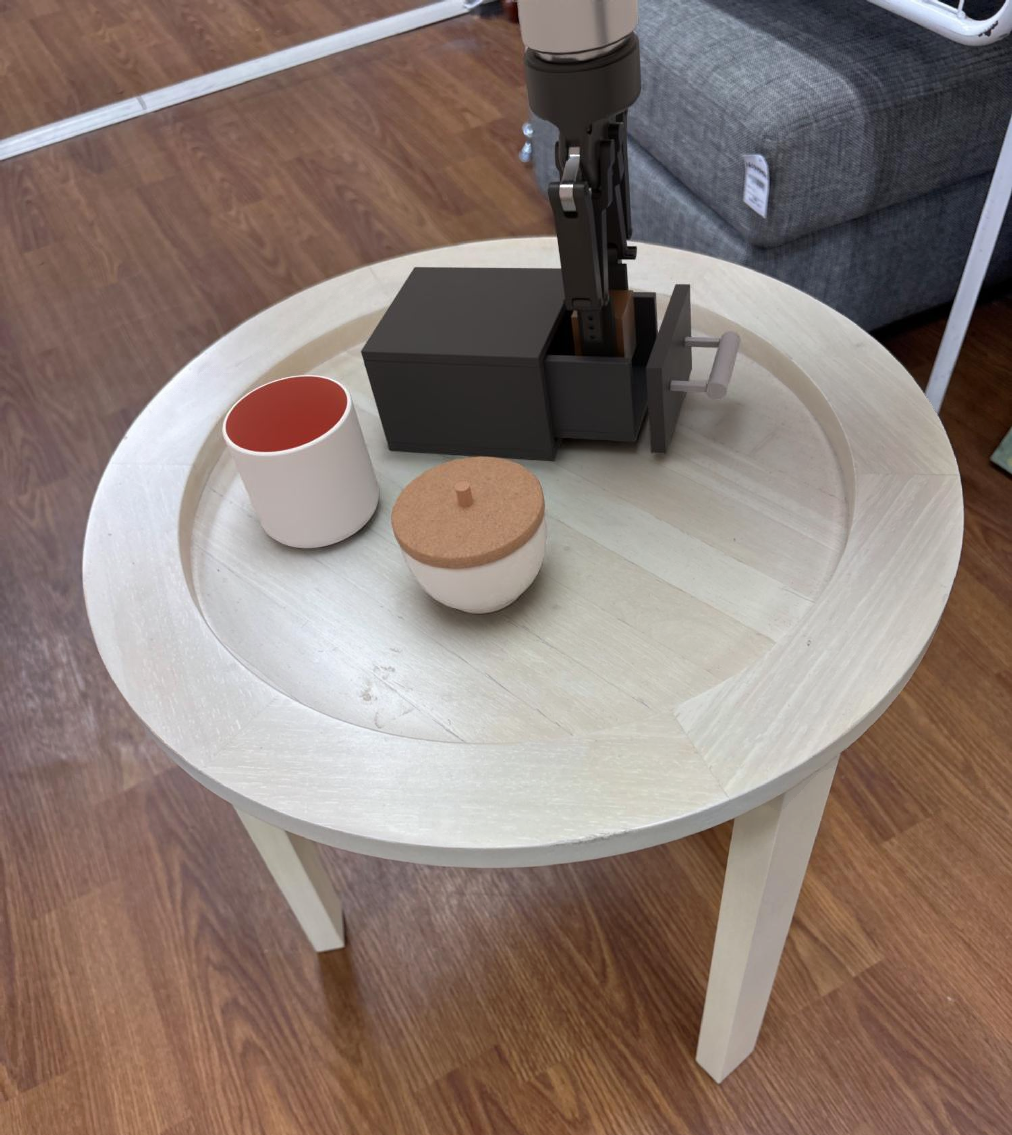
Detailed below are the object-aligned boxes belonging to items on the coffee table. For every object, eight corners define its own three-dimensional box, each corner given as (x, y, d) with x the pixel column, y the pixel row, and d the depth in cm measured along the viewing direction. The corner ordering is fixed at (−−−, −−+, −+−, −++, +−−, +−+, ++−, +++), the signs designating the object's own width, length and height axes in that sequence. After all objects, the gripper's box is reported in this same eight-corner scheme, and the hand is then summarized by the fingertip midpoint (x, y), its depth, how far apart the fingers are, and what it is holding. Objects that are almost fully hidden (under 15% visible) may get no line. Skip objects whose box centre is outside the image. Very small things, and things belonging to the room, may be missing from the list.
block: (636, 345, 87) (633, 289, 83) (625, 374, 84) (622, 318, 81) (589, 344, 88) (583, 288, 84) (577, 372, 86) (570, 316, 82)
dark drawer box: (590, 370, 95) (579, 267, 88) (553, 461, 87) (538, 357, 80) (436, 364, 99) (414, 266, 92) (389, 450, 92) (360, 351, 85)
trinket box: (586, 572, 78) (573, 471, 71) (484, 660, 74) (459, 562, 67) (485, 517, 84) (464, 418, 77) (385, 595, 80) (353, 499, 73)
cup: (377, 548, 84) (343, 445, 76) (255, 562, 85) (210, 461, 77) (387, 468, 90) (357, 366, 83) (274, 482, 91) (234, 382, 84)
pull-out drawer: (744, 370, 90) (745, 284, 84) (721, 457, 83) (721, 370, 77) (540, 363, 95) (528, 281, 89) (503, 444, 88) (487, 361, 82)
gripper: (557, -7, 75) (588, 297, 92) (485, 98, 64) (535, 418, 82) (663, -15, 72) (674, 299, 90) (606, 93, 62) (631, 423, 80)
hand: (608, 355), depth 86 cm, fingers closed on block, 4 cm apart
